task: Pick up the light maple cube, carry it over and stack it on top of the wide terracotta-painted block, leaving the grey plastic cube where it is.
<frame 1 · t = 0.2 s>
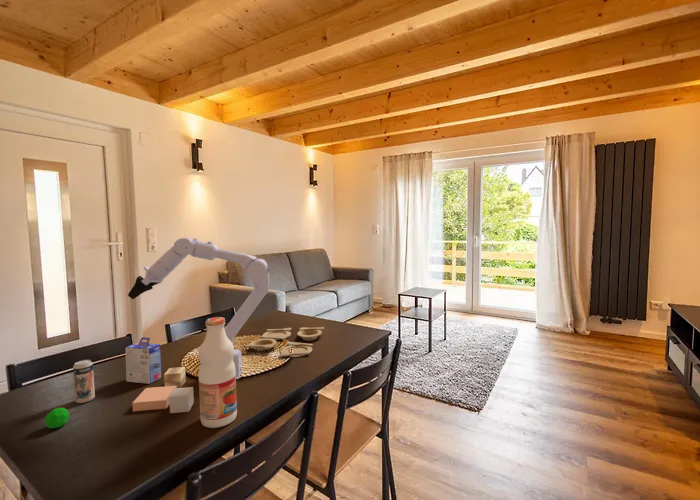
hand: (134, 294, 113), 31 cm above the table, tool tilted 45°, fingers open, 7 cm apart
fruit juice: (219, 419, 94), on the table
tableware set: (286, 344, 154), on the table
maple cube: (175, 384, 114), on the table
grey cube: (182, 408, 100), on the table
polyhedron: (58, 427, 91), on the table
beer can: (85, 400, 104), on the table
terracotta block: (156, 403, 103), on the table
ink cartridge box: (144, 380, 118), on the table
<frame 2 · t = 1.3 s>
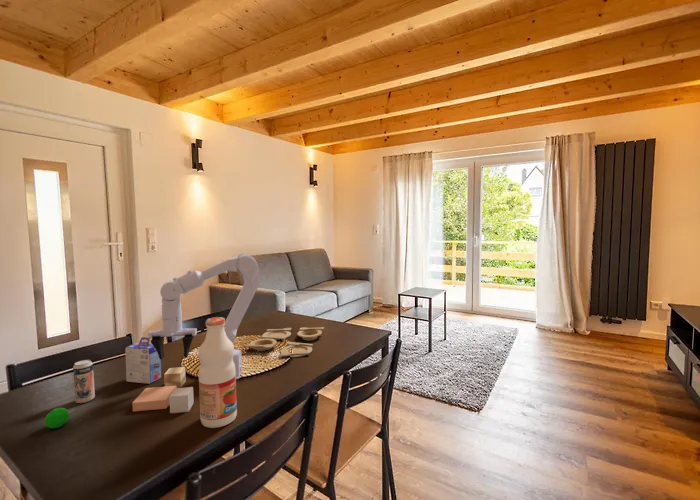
hand: (174, 357, 114), 9 cm above the table, tool pointing down, fingers open, 7 cm apart
nothing on the table moved.
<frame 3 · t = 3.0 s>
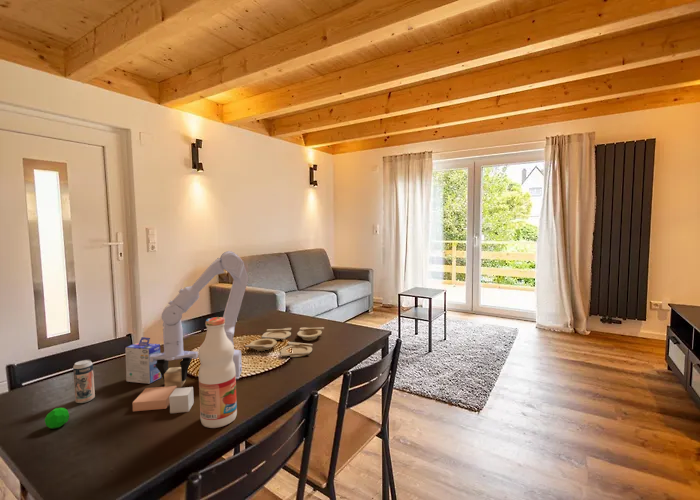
hand: (175, 380, 114), 1 cm above the table, tool pointing down, fingers closed on maple cube, 5 cm apart
maple cube: (175, 384, 114), on the table, touching gripper
everything else where it was.
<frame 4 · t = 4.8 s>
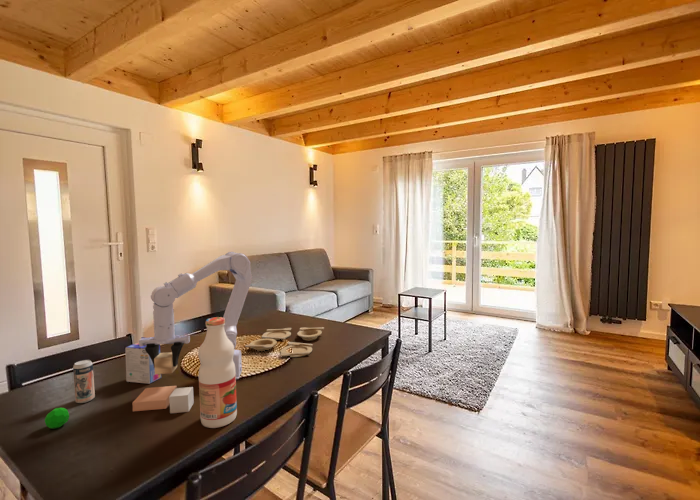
hand: (166, 365, 109), 8 cm above the table, tool pointing down, fingers closed on maple cube, 5 cm apart
maple cube: (166, 370, 109), point 7 cm above the table, touching gripper
everything else where it was.
when the fingers open (5 cm above the table, at t = 6.9 s): maple cube drops 1 cm, resting on terracotta block.
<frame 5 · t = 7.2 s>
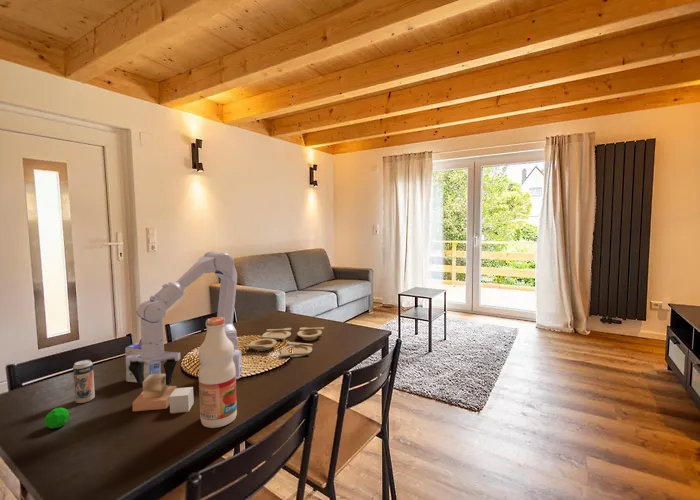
hand: (155, 384, 103), 5 cm above the table, tool pointing down, fingers open, 7 cm apart
maple cube: (156, 393, 103), point 3 cm above the table, touching terracotta block
terracotta block: (156, 403, 103), on the table, touching maple cube
everything else where it was.
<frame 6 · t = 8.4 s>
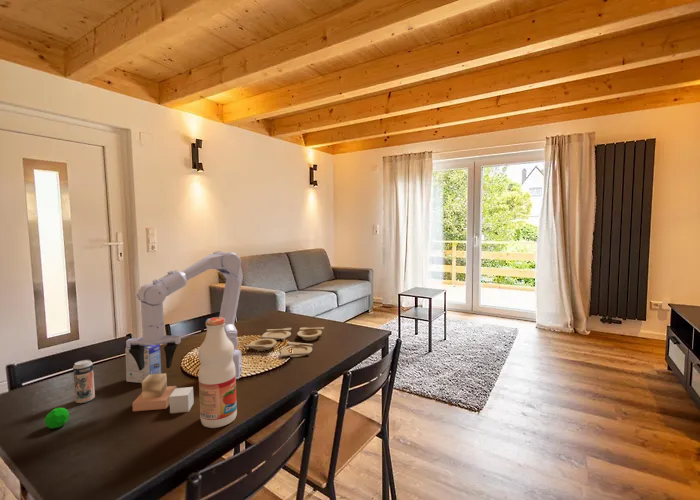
hand: (155, 367, 103), 10 cm above the table, tool pointing down, fingers open, 7 cm apart
nothing on the table moved.
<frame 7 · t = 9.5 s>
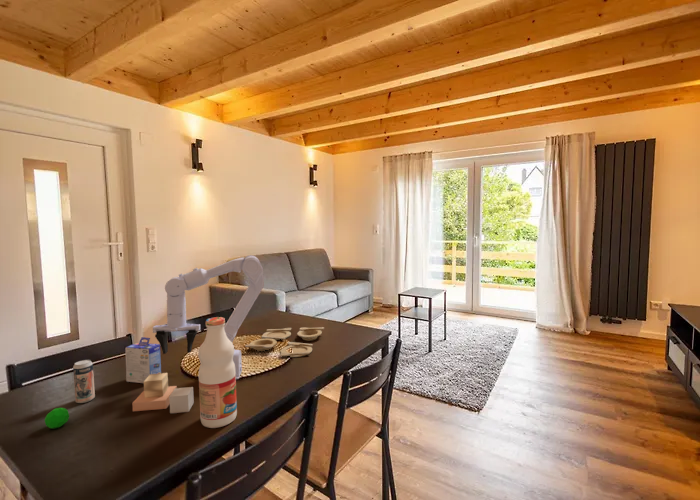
hand: (177, 352, 115), 10 cm above the table, tool pointing down, fingers open, 7 cm apart
maple cube: (156, 392, 103), point 3 cm above the table
terracotta block: (156, 403, 103), on the table
everything else where it was.
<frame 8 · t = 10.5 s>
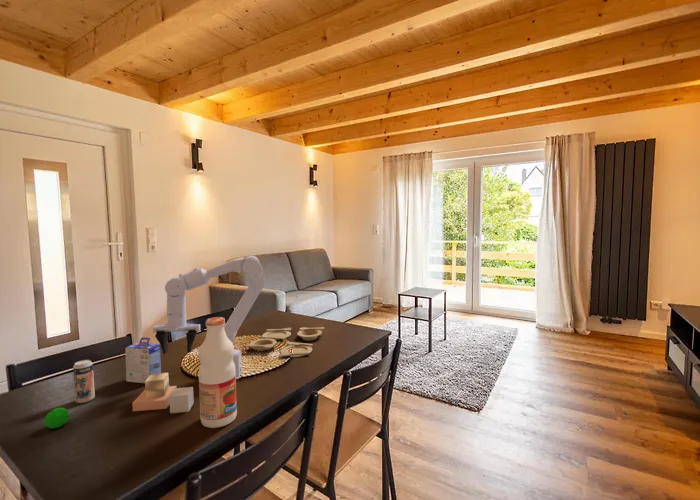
hand: (177, 352, 115), 10 cm above the table, tool pointing down, fingers open, 7 cm apart
nothing on the table moved.
at the end: maple cube 0.7 cm off-centre on the terracotta block, point 3.0 cm above the terracotta block's base; maple cube tilted 1°; the gripper is holding nothing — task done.
